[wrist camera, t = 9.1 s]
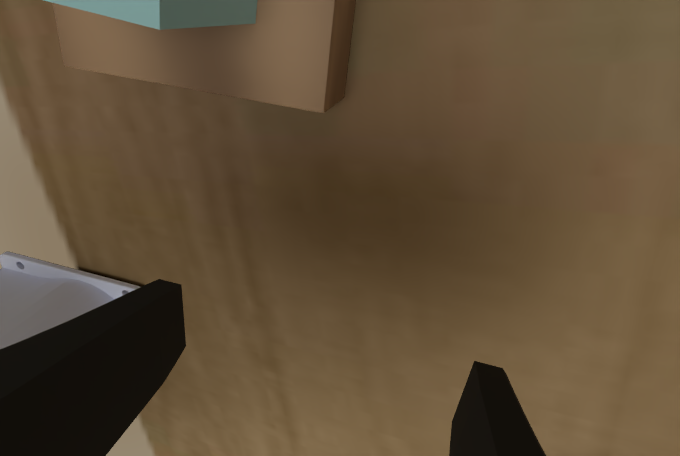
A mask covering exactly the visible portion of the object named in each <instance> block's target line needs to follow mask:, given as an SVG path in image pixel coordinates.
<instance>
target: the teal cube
mask: <svg viewBox="0 0 680 456" xmlns="http://www.w3.org/2000/svg"><path fill="white" fill-rule="evenodd" d="M45 1H49V2H52V3H56V4H60V5H64V6H68V7H72V8H76V9H80V10H84V11H88V12H92V13H96V14H100V15H104V16H107V17H111V18H115V19H119V20H123V21H127V22H131V23H135V24H139V25H143V26H147V27H151V28H155V29H159V30H164V29H180V28H195V27H210V26H225V25H241V24H255V22H256V11H257V0H45Z"/></svg>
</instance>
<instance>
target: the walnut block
mask: <svg viewBox="0 0 680 456" xmlns="http://www.w3.org/2000/svg"><path fill="white" fill-rule="evenodd" d="M355 3H356V0H257V11H256V22H255V24H241V25H225V26H210V27H195V28H180V29H164V30H159V29H155V28H151V27H147V26H143V25H139V24H135V23H131V22H127V21H123V20H119V19H115V18H111V17H107V16H104V15H100V14H96V13H92V12H88V11H84V10H80V9H76V8H72V7H68V6H64V5H60V4H56V3H53V8H54V14H55V19H56V25H57V30H58V36H59V41H60V47H61V52H62V58H63V63H64V66H66V67H72V68H77V69H83V70H88V71H94V72H99V73H105V74H110V75H116V76H121V77H127V78H132V79H138V80H143V81H149V82H154V83H160V84H165V85H171V86H176V87H182V88H187V89H193V90H198V91H204V92H209V93H215V94H220V95H226V96H231V97H237V98H242V99H248V100H253V101H259V102H264V103H270V104H275V105H281V106H286V107H292V108H297V109H303V110H308V111H314V112H319V113H324V112H326V111H327V110H328V109H330V108H331V107H332V106H333V105H335V104H336V103H337V102H339V101H340V100H341V99H342V98H344V95H345V86H346V78H347V70H348V61H349V53H350V45H351V37H352V28H353V20H354V12H355Z"/></svg>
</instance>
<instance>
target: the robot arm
mask: <svg viewBox="0 0 680 456" xmlns="http://www.w3.org/2000/svg"><path fill="white" fill-rule="evenodd" d="M0 263H1V266H2V268H1V269H0V456H106V454H107V453H108V452H109V451H110V449H111V448H112V447H113V446H114V444H115V443H116V442H117V441H118V439H119V438H120V437H121V436H122V434H123V433H124V432H125V430H126V429H127V428H128V427H129V426H130V424H131V423H132V422H133V421H134V419H135V418H136V417H137V416H138V414H139V413H140V412H141V411H142V409H143V408H144V407H145V406H146V404H147V403H148V402H149V401H150V399H151V398H152V397H153V395H154V394H155V393H156V392H157V390H158V389H159V388H160V386H161V385H162V384H163V382H164V381H165V380H166V378H167V376H168V375H169V373H170V372H171V370H172V368H173V367H174V365H175V364H176V362H177V360H178V358H179V357H180V355H181V353H182V352H183V350H184V348H185V347H186V341H185V328H184V314H183V301H182V288H181V285H180V284H176V283H173V282H169V281H165V280H161V279H158V280H156V281H154V282H151V283H149V284H147V285H144V286H142V287H139V286H137V285H133V284H129V283H126V282H122V281H118V280H114V279H111V278H107V277H103V276H99V275H95V274H92V273H88V272H84V271H80V270H77V269H73V268H69V267H65V266H61V265H58V264H54V263H50V262H46V261H42V260H39V259H35V258H31V257H28V256H24V255H20V254H16V253H12V252H5V253H3V254H1V255H0ZM449 456H546V455H545V453H544V451H543V449H542V447H541V445H540V444H539V442H538V440H537V438H536V436H535V434H534V432H533V430H532V428H531V426H530V424H529V422H528V420H527V418H526V416H525V414H524V412H523V410H522V407H521V405H520V403H519V401H518V399H517V397H516V395H515V392H514V390H513V388H512V386H511V384H510V381H509V379H508V377H507V375H506V373H505V371H504V370H503V368H500V367H496V366H492V365H488V364H484V363H480V362H476V361H474V363H473V366H472V369H471V372H470V374H469V377H468V380H467V382H466V385H465V388H464V391H463V393H462V396H461V399H460V401H459V404H458V407H457V410H456V412H455V415H454V418H453V420H452V429H451V441H450V454H449Z"/></svg>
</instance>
